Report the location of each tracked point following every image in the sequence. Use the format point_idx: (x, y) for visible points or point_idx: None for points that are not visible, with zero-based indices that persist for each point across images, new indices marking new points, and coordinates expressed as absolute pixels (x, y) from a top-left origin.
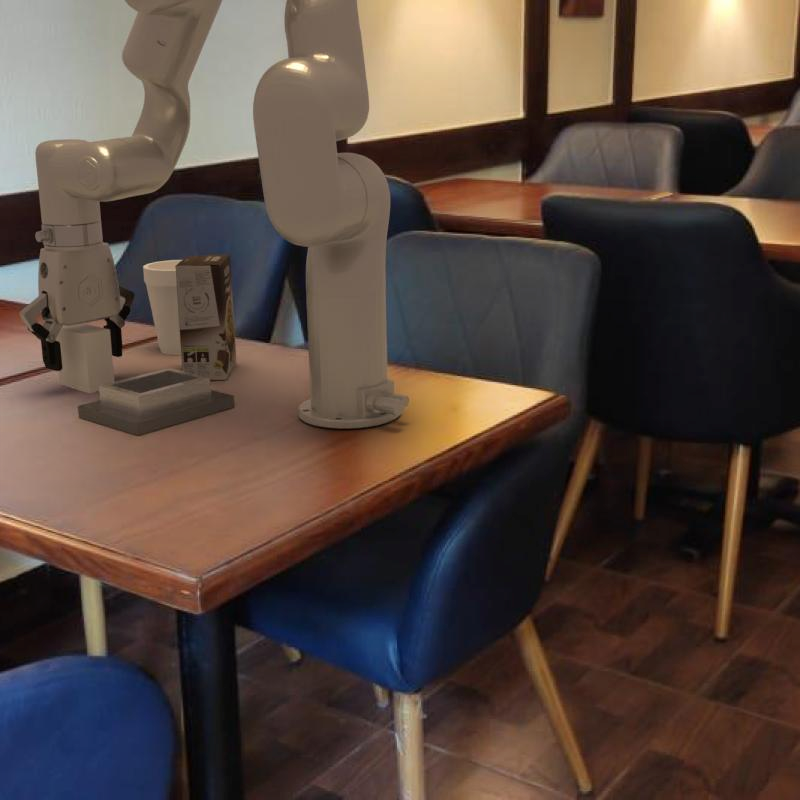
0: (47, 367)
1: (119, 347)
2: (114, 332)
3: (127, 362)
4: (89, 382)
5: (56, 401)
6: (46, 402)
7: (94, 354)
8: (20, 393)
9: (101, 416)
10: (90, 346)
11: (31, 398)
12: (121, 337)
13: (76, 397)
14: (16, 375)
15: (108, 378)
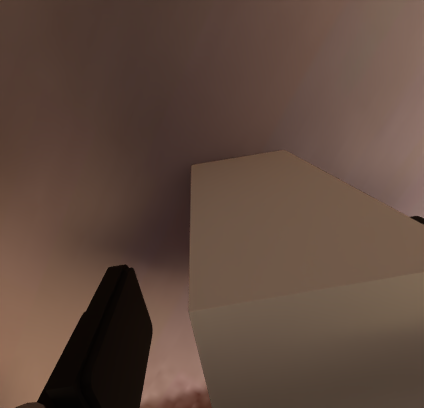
0: None
1: (109, 289)
2: (99, 371)
3: None
4: (295, 157)
5: (399, 134)
6: (421, 145)
7: (305, 196)
8: None
9: None
10: (356, 213)
11: (412, 211)
12: (65, 350)
13: (337, 134)
14: None
15: (214, 170)
